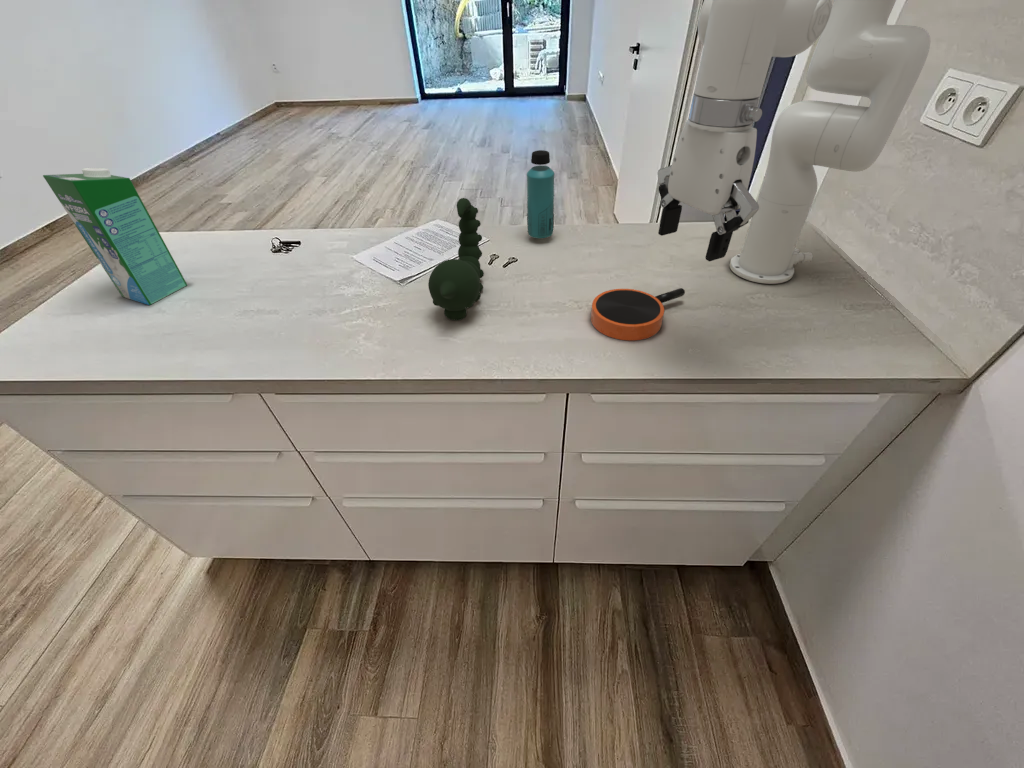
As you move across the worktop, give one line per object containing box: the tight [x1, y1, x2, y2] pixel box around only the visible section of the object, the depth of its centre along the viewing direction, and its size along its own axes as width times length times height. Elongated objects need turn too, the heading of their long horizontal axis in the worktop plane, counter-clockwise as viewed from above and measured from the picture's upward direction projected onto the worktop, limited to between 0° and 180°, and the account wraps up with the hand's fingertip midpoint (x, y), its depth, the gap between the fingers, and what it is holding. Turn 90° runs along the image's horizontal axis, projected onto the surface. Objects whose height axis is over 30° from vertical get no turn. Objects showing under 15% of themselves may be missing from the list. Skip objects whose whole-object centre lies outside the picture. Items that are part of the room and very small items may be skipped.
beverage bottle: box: [526, 149, 555, 239], centre depth 110 cm, size 6×7×20 cm
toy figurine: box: [427, 197, 485, 321], centre depth 90 cm, size 9×19×25 cm
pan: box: [590, 287, 686, 342], centre depth 89 cm, size 20×13×3 cm, turn 117°
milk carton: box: [42, 167, 188, 306], centre depth 94 cm, size 9×9×25 cm
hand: (690, 245), depth 69 cm, fingers open, 9 cm apart
